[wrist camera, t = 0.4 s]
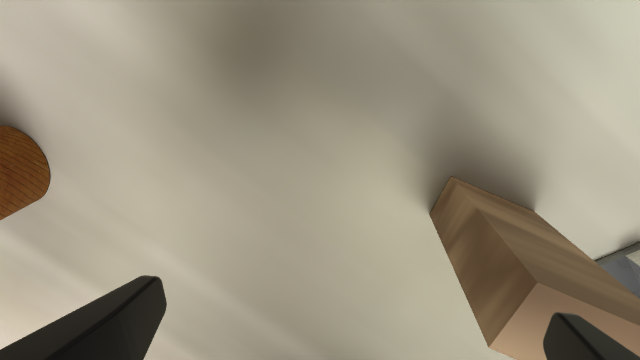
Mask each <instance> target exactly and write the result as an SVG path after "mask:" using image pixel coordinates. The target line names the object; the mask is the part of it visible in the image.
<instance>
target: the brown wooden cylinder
mask: <svg viewBox="0 0 640 360" xmlns="http://www.w3.org/2000/svg"><path fill="white" fill-rule="evenodd" d="M49 180H50V173H49V168H48V164H47V161H46V159H45V156H44V155H43V153H42V152H41V150H40V148H39V147H38V146H37V145H36V143H35V142H34V141H33V140H32V139H30V138H29V137H28V136H27V135H26V134H24V133H22V132H21V131H19V130H17V129H15V128H12V127H8V126H0V220H2V219H4V218H5V217H7V216H9V215H11V214H13V213H15V212H17V211H18V210H20V209H22V208H24V207H26V206H28V205H29V204H31V203H33V202H35V201H37V200H39V199H40V198H42V197H43V196H44V194H45V193H46V191H47V189H48V186H49Z"/></svg>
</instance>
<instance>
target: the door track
mask: <svg viewBox="0 0 640 360" xmlns="http://www.w3.org/2000/svg"><path fill="white" fill-rule="evenodd" d="M595 262H596V263H597V264H598V265H599V266H601V267H602V268H603V269H604V270H605V271H607V272H608V273H609V274H610V275H612V276H613V277H614V278H615V279H616V280H618V281H619V282H620V283H621V284H622V285H624V286H625V287H626V288H627V289H628V290H630V291H631V292H632V293H633V294H635V295H636V296H637V297H638V298H639V299H640V242H639V243H637V244H635V245H632V246H630V247H628V248H625V249H623V250H620V251H618V252H616V253H613V254H611V255H609V256H606V257H604V258H601V259H599V260H597V261H595Z"/></svg>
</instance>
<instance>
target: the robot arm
mask: <svg viewBox="0 0 640 360" xmlns="http://www.w3.org/2000/svg"><path fill="white" fill-rule="evenodd" d="M166 306H167V303H166V298H165V293H164V289H163V284H162V281H161V279H160V278H159V277H157V276H147V275H144V276H140V277H138V278H136V279H134V280H132V281H131V282H129V283H127V284H125V285H123V286H121V287H119V288H117V289H115V290H113V291H111V292H110V293H108V294H106V295H104V296H102V297H100V298H98V299H96V300H94V301H92V302H90V303H89V304H87V305H85V306H83V307H81V308H79V309H77V310H75V311H73V312H71V313H69V314H68V315H66V316H64V317H62V318H60V319H58V320H56V321H54V322H52V323H50V324H48V325H47V326H45V327H43V328H41V329H39V330H37V331H35V332H33V333H31V334H29V335H27V336H26V337H24V338H22V339H20V340H18V341H16V342H14V343H12V344H10V345H8V346H6V347H5V348H3V349H1V350H0V360H143V359H144V357H145V355H146V353H147V351H148V348H149V346H150V344H151V342H152V340H153V337H154V335H155V333H156V331H157V329H158V327H159V324H160V322H161V320H162V318H163V316H164V314H165V311H166ZM543 349H544V353H545V356H546V358H547V360H640V357H639V356H638V355H636V354H635V353H633V352H632V351H630V350H629V349H628V348H626V347H625V346H623V345H622V344H620V343H619V342H617V341H616V340H614V339H613V338H611V337H610V336H608V335H607V334H606V333H604V332H603V331H601V330H600V329H598V328H597V327H595V326H594V325H592V324H591V323H589V322H588V321H586V320H585V319H584V318H582V317H581V316H579V315H577V314H573V313H563V312H556V313H554V314H553V315H552V317H551V319H550V322H549V325H548V327H547V330H546V333H545V336H544V339H543Z"/></svg>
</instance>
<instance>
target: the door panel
mask: <svg viewBox="0 0 640 360" xmlns="http://www.w3.org/2000/svg"><path fill="white" fill-rule="evenodd" d="M429 215H430V217H431V219H432V221H433V224H434V226H435V228H436V230H437V233H438V235H439V237H440V239H441V242H442V244H443V246H444V248H445V251H446V253H447V255H448V257H449V260H450V262H451V264H452V266H453V268H454V271H455V273H456V275H457V277H458V280H459V282H460V284H461V286H462V289H463V291H464V293H465V295H466V298H467V300H468V302H469V304H470V307H471V309H472V311H473V313H474V316H475V318H476V320H477V322H478V325H479V327H480V329H481V331H482V334H483V336H484V338H485V340H486V343H487V345H488V347H489V348H491V349H493V350H495V351H498V352H500V353H502V354H505V355H507V356H509V357H512V358H514V359H516V360H547V358H546V356H545V353H544V349H543V339H544V336H545V333H546V330H547V327H548V325H549V322H550V319H551V317H552V315H553V314H554V313H556V312H563V313H573V314H577V315H579V316H581V317H582V318H584V319H585V320H586V321H588V322H589V323H591V324H592V325H594V326H595V327H597V328H598V329H600V330H601V331H603V332H604V333H606V334H607V335H608V336H610V337H611V338H613V339H614V340H616V341H617V342H619V343H620V344H622V345H623V346H625V347H626V348H628V349H629V350H630V351H632V352H633V353H635V354H636V355H638V356H639V357H640V299H639V298H638V297H637V296H636V295H635V294H633V293H632V292H631V291H630V290H628V289H627V288H626V287H625V286H624V285H622V284H621V283H620V282H619V281H618V280H616V279H615V278H614V277H613V276H612V275H610V274H609V273H608V272H607V271H605V270H604V269H603V268H602V267H601V266H599V265H598V264H597V263H596V262H595V261H593V260H592V259H591V258H590V257H589V256H587V255H586V254H585V253H584V252H582V251H581V250H580V249H579V248H578V247H576V246H575V245H574V244H573V243H572V242H570V241H569V240H568V239H567V238H566V237H564V236H563V235H562V234H561V233H559V232H558V231H557V230H556V229H555V228H553V227H552V226H551V225H550V224H549V223H547V222H546V221H545V220H544V219H543V218H541V217H540V216H539V215H538V214H537V213H535V212H534V211H531V210H529V209H527V208H524V207H522V206H520V205H517V204H515V203H512V202H510V201H508V200H505V199H503V198H501V197H498V196H496V195H494V194H491V193H489V192H487V191H484V190H482V189H480V188H477V187H475V186H473V185H470V184H468V183H465V182H463V181H461V180H458V179H456V178H454V177H450V179H449V181H448V182H447V184H446V186H445V188H444V189H443V191H442V193H441V195H440V196H439V198H438V200H437V202H436V204H435V205H434V207H433V209H432V211H431V212H430V214H429Z"/></svg>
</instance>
